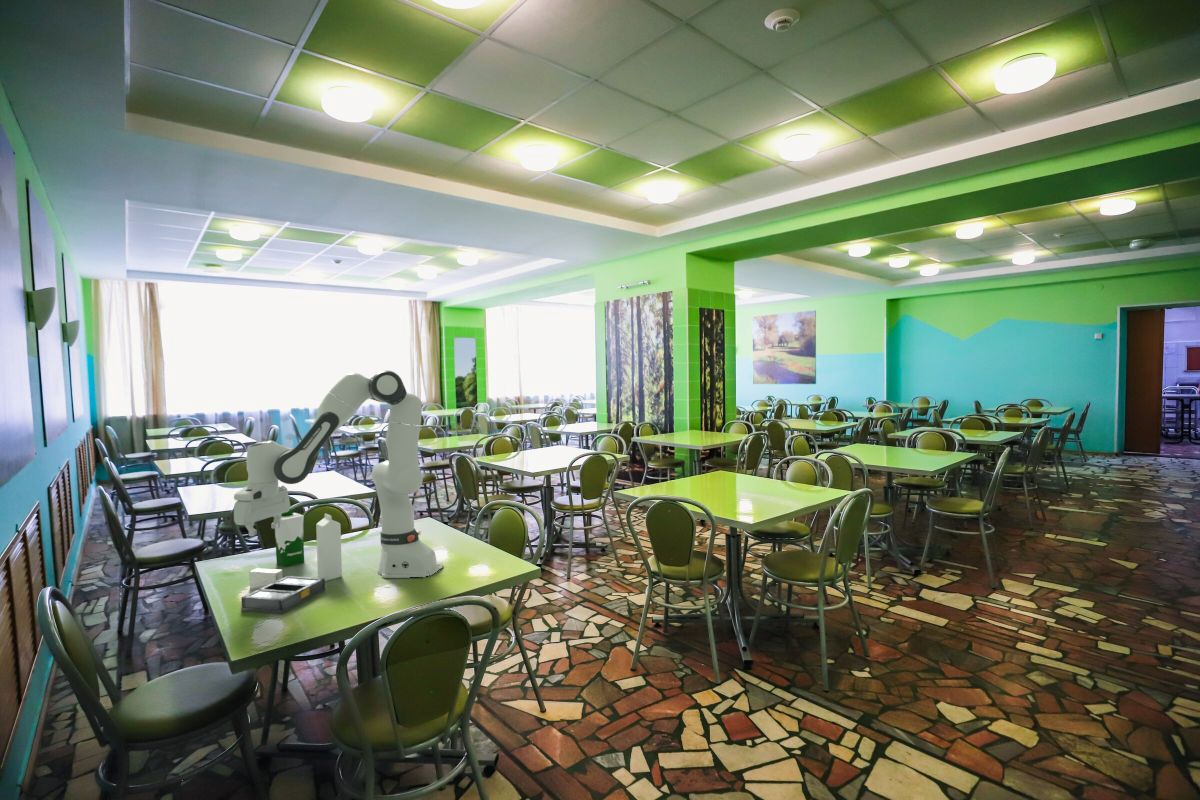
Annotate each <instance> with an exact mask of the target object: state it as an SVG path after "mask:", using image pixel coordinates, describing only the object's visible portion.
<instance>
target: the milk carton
mask: <svg viewBox="0 0 1200 800" xmlns="http://www.w3.org/2000/svg"><path fill="white" fill-rule="evenodd" d="M281 515H282V517H281V519H280V522H279V527H278V528H276V529H274V532H275V533H274V535H275V555H276V557H275V558H276V565H278V566H281V567H284V568H288V567H291V566H295V565H300V564H302V563H305V544H304V543H305V542H304V519H305V515H303V514H301V513H298V512H293V508H290V510H289V511H288V512H285V513H282V514H281Z"/></svg>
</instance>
